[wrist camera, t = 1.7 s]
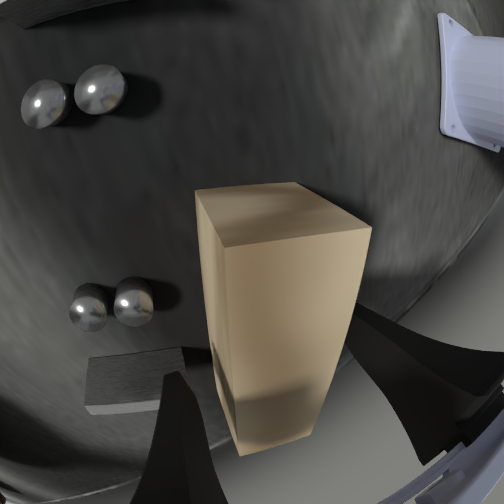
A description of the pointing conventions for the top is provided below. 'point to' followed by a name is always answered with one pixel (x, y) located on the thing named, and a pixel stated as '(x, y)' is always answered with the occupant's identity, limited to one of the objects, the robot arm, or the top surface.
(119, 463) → the top surface
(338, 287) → the oak block
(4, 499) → the brown rock
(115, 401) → the grey blocks and balls
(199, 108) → the top surface
